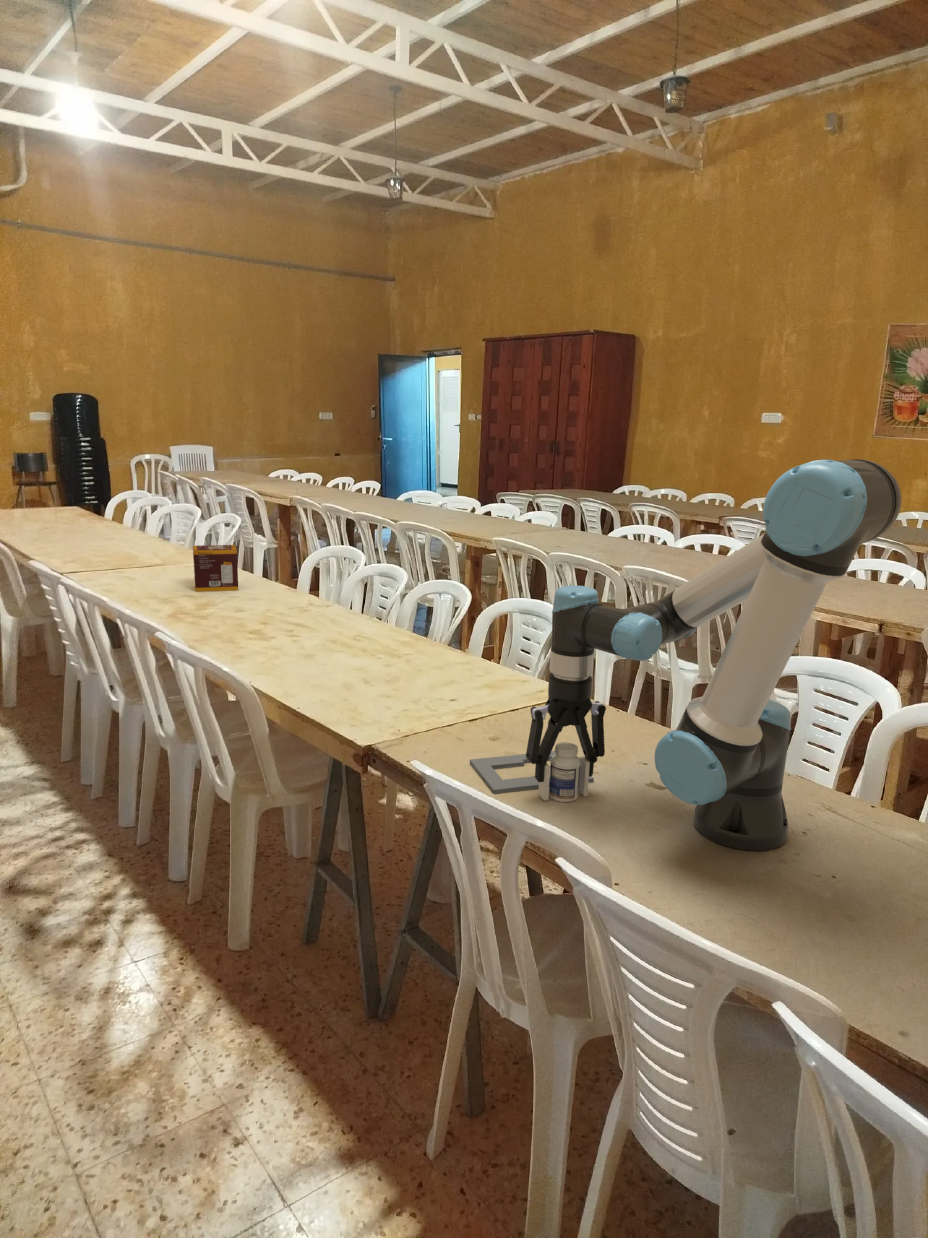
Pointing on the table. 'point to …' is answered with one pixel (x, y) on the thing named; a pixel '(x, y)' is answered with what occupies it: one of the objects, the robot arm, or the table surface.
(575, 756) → the pill bottle
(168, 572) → the table surface
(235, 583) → the supplement box
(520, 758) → the keyhole board
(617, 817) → the table surface
